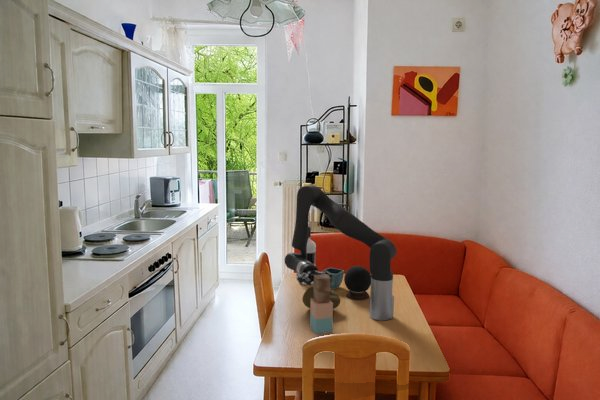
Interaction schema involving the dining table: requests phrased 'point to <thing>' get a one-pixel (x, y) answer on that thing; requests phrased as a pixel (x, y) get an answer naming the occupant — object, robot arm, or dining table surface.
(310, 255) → the vodka
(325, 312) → the tower top
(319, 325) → the tower base
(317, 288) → the pillar
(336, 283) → the flower pot
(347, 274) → the black ball on stand
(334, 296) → the decorative stone
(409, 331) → the dining table surface
